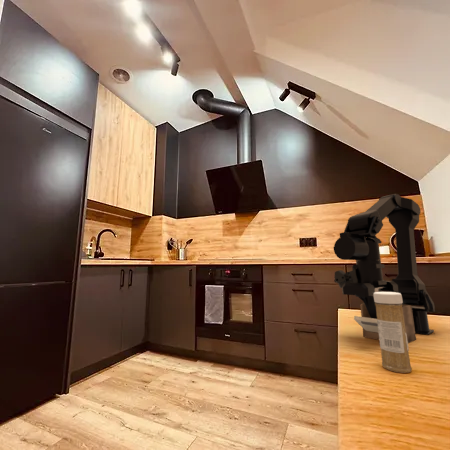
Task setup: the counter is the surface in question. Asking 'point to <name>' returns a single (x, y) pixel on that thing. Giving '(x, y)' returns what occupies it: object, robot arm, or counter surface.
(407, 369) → the sprinkles bottle
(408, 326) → the open wooden box
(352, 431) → the counter surface
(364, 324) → the cabinet door
